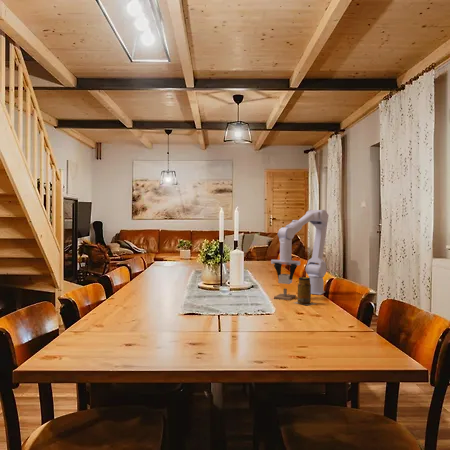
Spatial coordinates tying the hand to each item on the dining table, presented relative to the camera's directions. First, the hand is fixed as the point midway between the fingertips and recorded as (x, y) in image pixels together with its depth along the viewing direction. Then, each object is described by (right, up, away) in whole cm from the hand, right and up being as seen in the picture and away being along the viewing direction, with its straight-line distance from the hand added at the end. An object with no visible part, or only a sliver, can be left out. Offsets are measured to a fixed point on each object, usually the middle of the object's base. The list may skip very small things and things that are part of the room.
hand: (285, 279), depth 224 cm
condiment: (+8, -10, -14) cm, 18 cm away
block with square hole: (0, -2, 0) cm, 2 cm away
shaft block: (0, -9, 0) cm, 9 cm away
